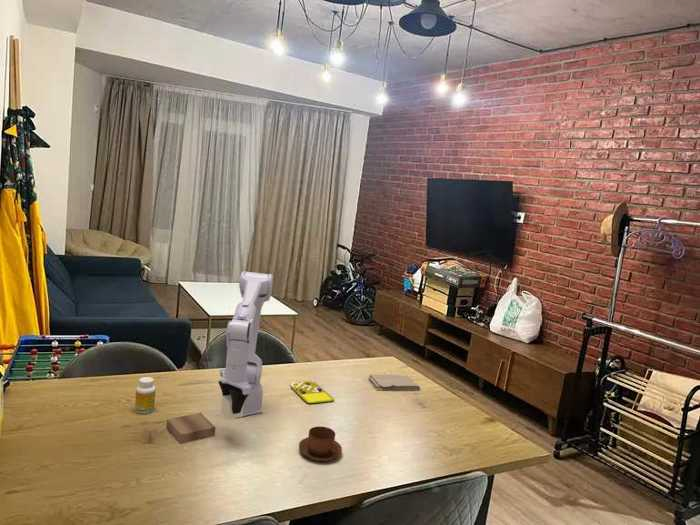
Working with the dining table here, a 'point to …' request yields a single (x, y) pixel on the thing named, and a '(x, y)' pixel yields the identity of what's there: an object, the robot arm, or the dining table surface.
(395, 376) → the washcloth
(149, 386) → the supplement bottle
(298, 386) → the game console
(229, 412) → the white block
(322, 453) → the cup and saucer
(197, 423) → the walnut block
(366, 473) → the dining table surface
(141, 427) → the dining table surface
